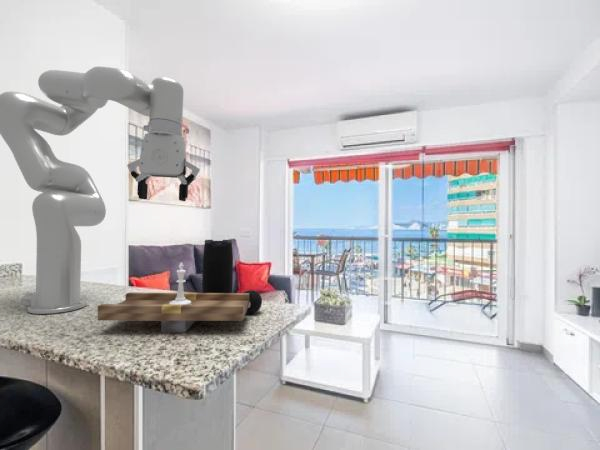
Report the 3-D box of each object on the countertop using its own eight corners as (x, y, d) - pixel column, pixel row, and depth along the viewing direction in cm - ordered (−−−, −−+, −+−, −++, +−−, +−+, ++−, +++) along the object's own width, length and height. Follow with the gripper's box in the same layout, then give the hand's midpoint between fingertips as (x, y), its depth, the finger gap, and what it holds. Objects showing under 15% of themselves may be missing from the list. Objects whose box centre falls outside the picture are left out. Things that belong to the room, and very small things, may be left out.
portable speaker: (231, 302, 93) (232, 239, 93) (232, 310, 85) (234, 240, 85) (202, 303, 91) (203, 239, 91) (200, 312, 82) (202, 240, 82)
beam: (97, 334, 64) (97, 306, 64) (128, 316, 77) (128, 292, 77) (242, 334, 66) (242, 306, 66) (248, 316, 79) (249, 293, 79)
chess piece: (195, 303, 74) (196, 261, 74) (185, 308, 69) (186, 263, 69) (175, 302, 74) (176, 260, 74) (164, 307, 69) (165, 263, 69)
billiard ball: (264, 310, 85) (264, 288, 85) (257, 317, 79) (258, 293, 79) (243, 309, 86) (244, 287, 86) (235, 315, 80) (235, 292, 80)
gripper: (122, 124, 73) (118, 197, 73) (196, 128, 73) (193, 200, 74) (137, 133, 80) (134, 199, 80) (204, 137, 81) (201, 202, 81)
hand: (162, 199), depth 77 cm, fingers open, 9 cm apart
